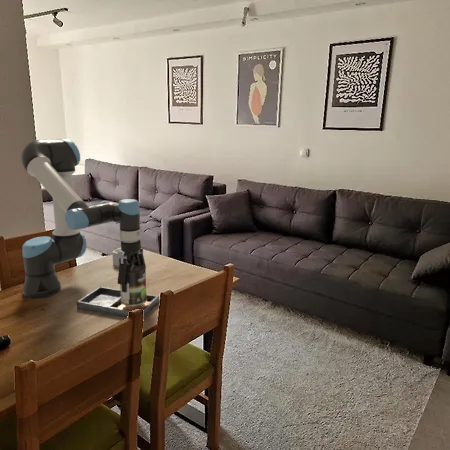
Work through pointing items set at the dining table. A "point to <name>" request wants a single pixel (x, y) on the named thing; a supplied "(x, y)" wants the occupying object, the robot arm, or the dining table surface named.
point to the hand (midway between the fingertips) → (133, 293)
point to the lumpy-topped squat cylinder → (117, 256)
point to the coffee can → (136, 286)
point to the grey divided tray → (113, 302)
